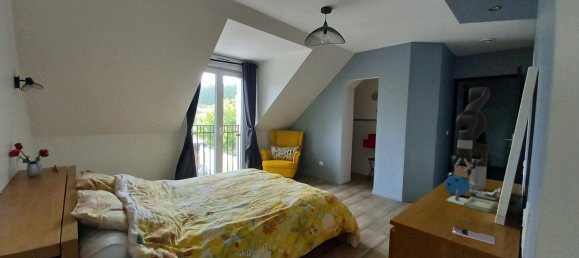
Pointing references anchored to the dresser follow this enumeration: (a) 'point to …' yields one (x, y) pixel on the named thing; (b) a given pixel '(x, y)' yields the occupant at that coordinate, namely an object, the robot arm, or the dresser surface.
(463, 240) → the dresser surface
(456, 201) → the stake board
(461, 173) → the ring
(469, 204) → the tray
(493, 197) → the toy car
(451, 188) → the alarm clock
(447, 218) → the dresser surface
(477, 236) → the mobile phone
